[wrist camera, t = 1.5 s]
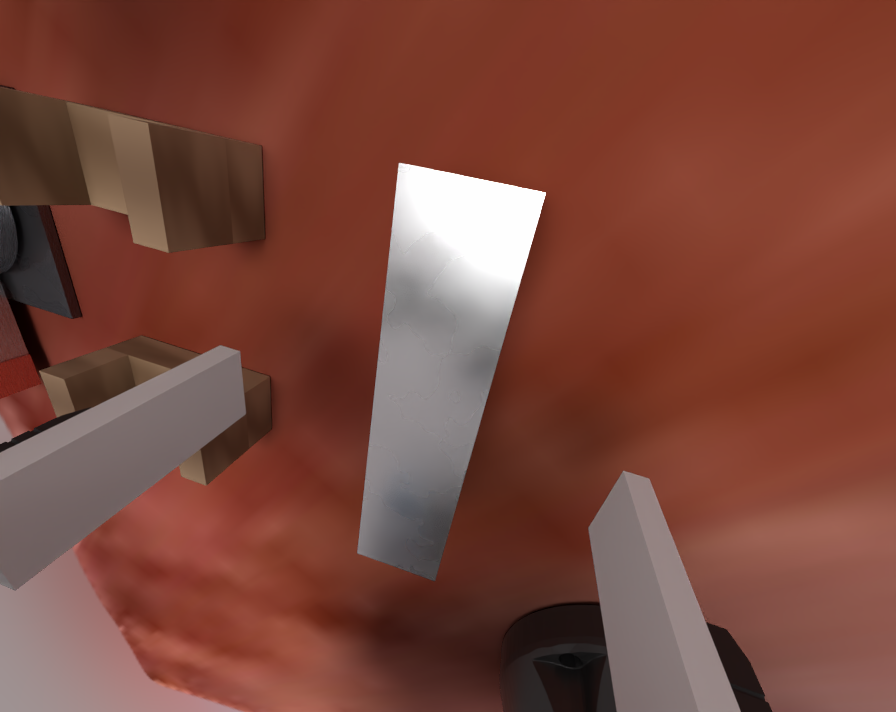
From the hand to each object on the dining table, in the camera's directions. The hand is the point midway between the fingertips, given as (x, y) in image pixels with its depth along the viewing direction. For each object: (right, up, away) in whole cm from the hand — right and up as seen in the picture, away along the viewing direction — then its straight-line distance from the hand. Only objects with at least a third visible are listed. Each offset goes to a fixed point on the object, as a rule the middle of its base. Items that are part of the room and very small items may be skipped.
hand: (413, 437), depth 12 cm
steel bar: (+1, +2, +6) cm, 7 cm away
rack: (-13, +6, +8) cm, 16 cm away
